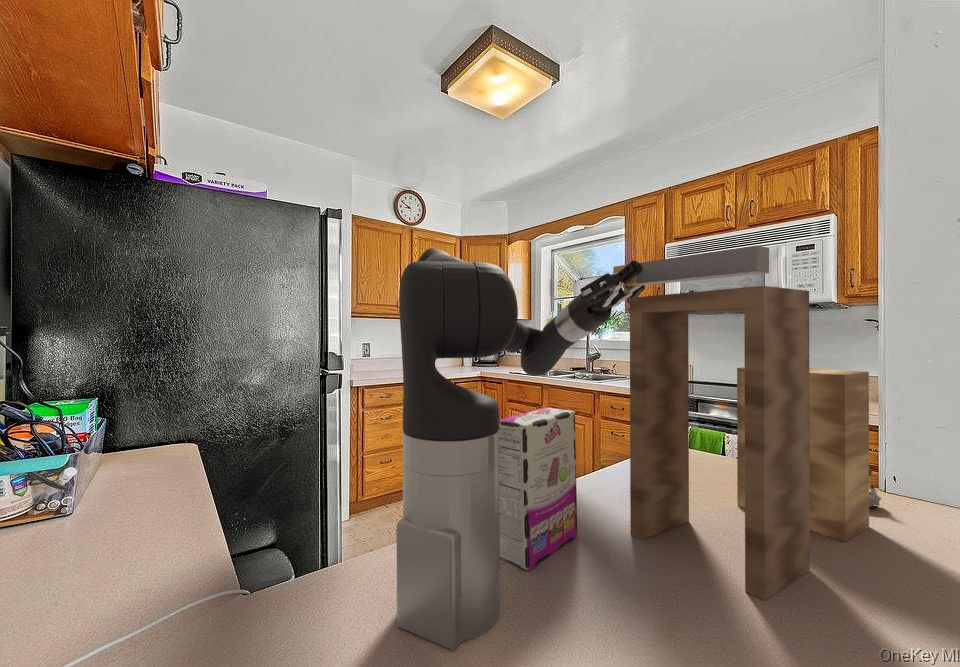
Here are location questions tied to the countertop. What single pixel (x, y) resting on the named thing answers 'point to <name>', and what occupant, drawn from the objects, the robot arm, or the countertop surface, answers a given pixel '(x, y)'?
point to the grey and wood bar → (702, 266)
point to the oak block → (829, 450)
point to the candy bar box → (537, 485)
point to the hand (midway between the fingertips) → (645, 265)
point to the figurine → (873, 494)
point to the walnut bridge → (768, 423)
